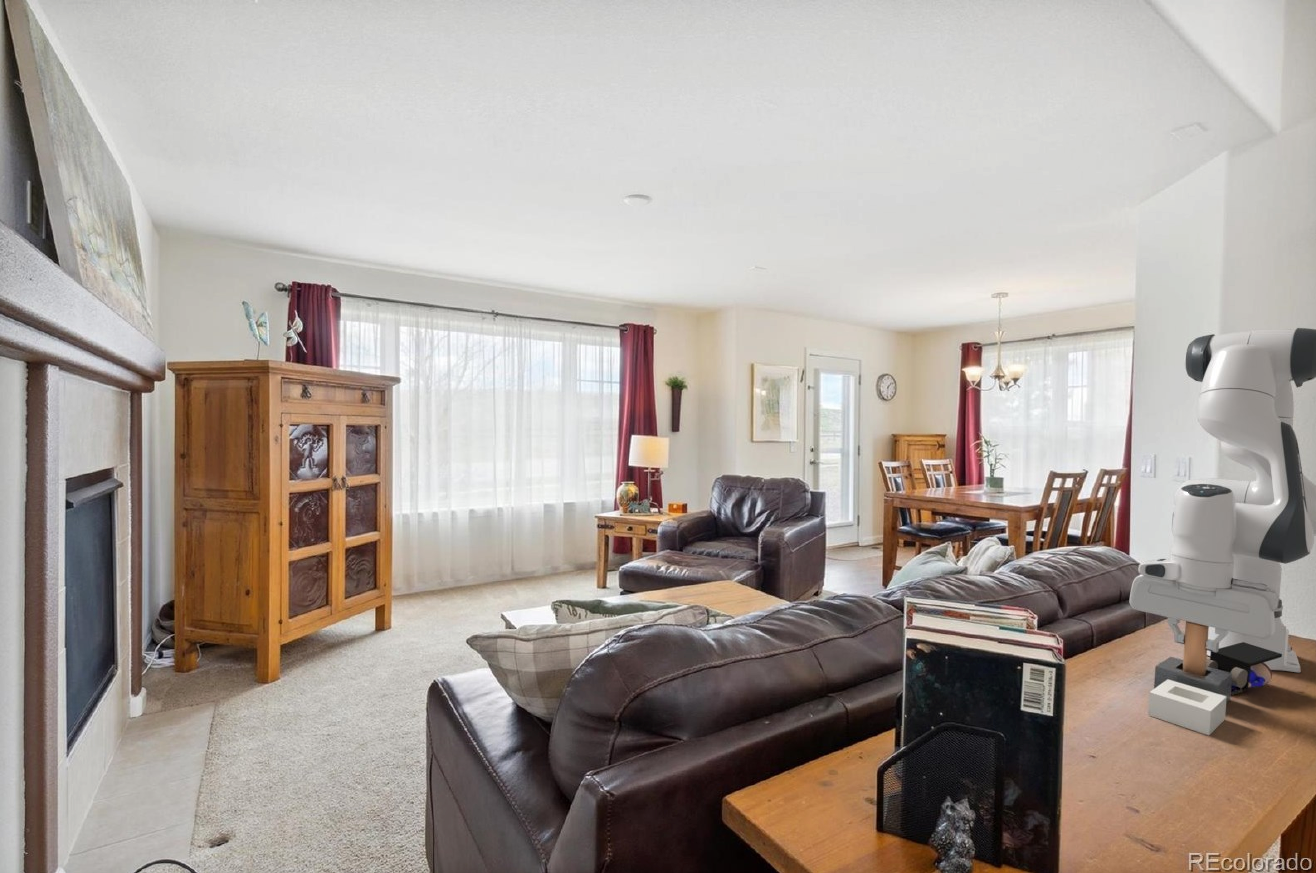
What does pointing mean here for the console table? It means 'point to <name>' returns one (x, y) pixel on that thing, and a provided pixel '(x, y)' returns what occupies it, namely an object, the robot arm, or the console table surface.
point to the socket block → (1187, 706)
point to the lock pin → (1195, 648)
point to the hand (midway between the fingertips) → (1195, 646)
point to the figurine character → (1244, 664)
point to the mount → (1194, 677)
